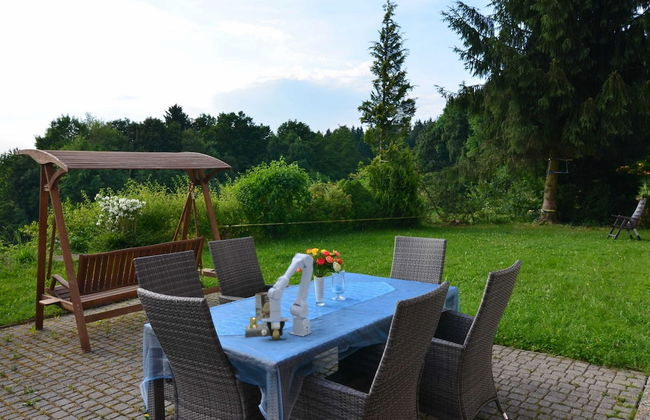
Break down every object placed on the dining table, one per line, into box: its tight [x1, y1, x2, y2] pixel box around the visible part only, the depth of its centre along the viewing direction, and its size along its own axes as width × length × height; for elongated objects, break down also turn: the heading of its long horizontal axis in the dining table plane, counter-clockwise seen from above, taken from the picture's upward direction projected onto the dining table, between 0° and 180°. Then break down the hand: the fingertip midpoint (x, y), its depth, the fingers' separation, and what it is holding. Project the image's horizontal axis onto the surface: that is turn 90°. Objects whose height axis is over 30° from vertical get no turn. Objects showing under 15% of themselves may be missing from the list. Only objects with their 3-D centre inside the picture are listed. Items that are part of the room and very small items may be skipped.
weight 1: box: [249, 316, 259, 328], centre depth 266 cm, size 4×4×5 cm
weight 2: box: [271, 328, 281, 341], centre depth 253 cm, size 4×4×5 cm
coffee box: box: [254, 291, 270, 322], centre depth 295 cm, size 9×6×16 cm
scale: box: [245, 322, 284, 338], centre depth 265 cm, size 14×20×4 cm
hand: (275, 335), depth 253 cm, fingers closed on weight 2, 4 cm apart
